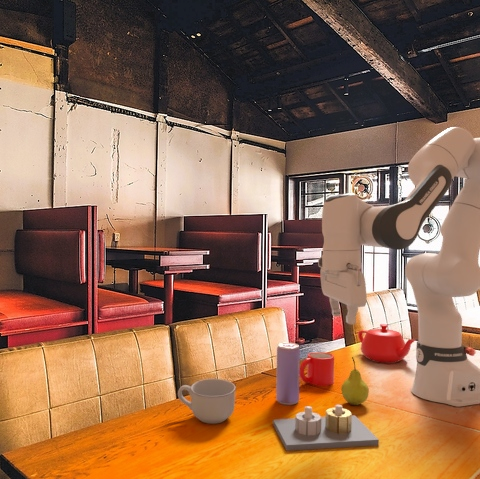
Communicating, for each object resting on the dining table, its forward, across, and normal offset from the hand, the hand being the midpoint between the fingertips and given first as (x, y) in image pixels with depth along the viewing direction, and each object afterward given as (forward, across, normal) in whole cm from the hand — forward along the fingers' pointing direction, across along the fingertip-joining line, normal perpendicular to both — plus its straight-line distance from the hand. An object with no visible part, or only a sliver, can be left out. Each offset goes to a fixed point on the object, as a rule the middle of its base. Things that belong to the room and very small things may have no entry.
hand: (343, 319), depth 113 cm
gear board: (+24, -7, +8) cm, 26 cm away
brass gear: (+23, -7, +5) cm, 24 cm away
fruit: (+25, +9, -6) cm, 27 cm away
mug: (+24, +27, -1) cm, 36 cm away
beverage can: (+24, +13, +11) cm, 29 cm away
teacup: (+23, +5, +33) cm, 41 cm away
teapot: (+26, +48, -33) cm, 64 cm away
